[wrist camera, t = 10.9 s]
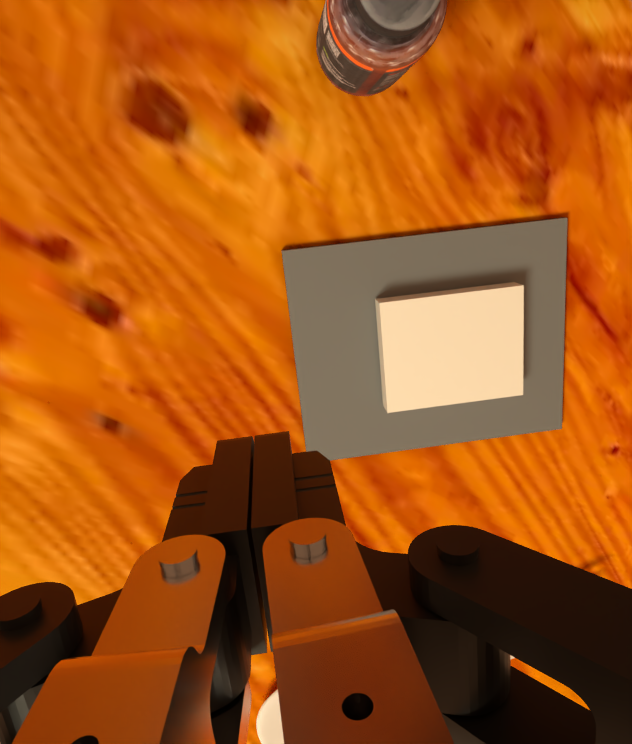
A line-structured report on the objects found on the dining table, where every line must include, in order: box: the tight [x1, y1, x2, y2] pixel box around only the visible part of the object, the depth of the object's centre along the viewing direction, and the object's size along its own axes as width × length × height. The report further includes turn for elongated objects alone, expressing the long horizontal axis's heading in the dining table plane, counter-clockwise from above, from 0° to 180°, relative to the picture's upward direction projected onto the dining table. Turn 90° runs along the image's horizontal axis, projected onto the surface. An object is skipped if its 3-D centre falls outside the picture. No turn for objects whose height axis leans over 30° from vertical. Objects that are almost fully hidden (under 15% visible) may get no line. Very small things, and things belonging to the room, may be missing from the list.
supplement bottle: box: [316, 0, 447, 96], centre depth 30 cm, size 6×6×11 cm
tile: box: [375, 282, 524, 413], centre depth 41 cm, size 8×2×10 cm
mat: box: [282, 217, 567, 460], centre depth 42 cm, size 20×16×1 cm
